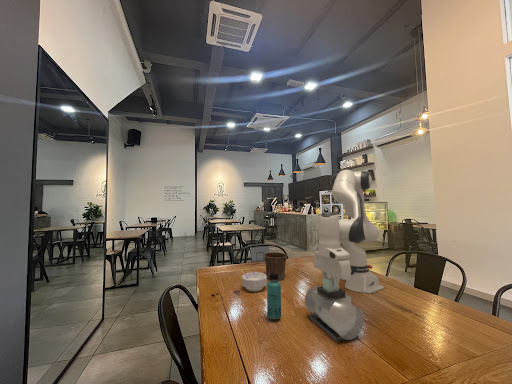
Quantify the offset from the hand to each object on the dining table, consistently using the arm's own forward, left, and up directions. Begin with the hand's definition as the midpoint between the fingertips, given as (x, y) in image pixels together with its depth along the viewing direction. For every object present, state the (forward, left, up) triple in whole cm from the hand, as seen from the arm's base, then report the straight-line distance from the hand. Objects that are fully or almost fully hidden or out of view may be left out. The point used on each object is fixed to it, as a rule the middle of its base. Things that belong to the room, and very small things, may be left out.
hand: (330, 283), depth 93 cm
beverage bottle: (+20, -14, -18) cm, 30 cm away
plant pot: (-3, -64, -18) cm, 66 cm away
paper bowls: (+17, -51, -18) cm, 57 cm away
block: (0, 0, -3) cm, 3 cm away
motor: (0, -2, -17) cm, 18 cm away
